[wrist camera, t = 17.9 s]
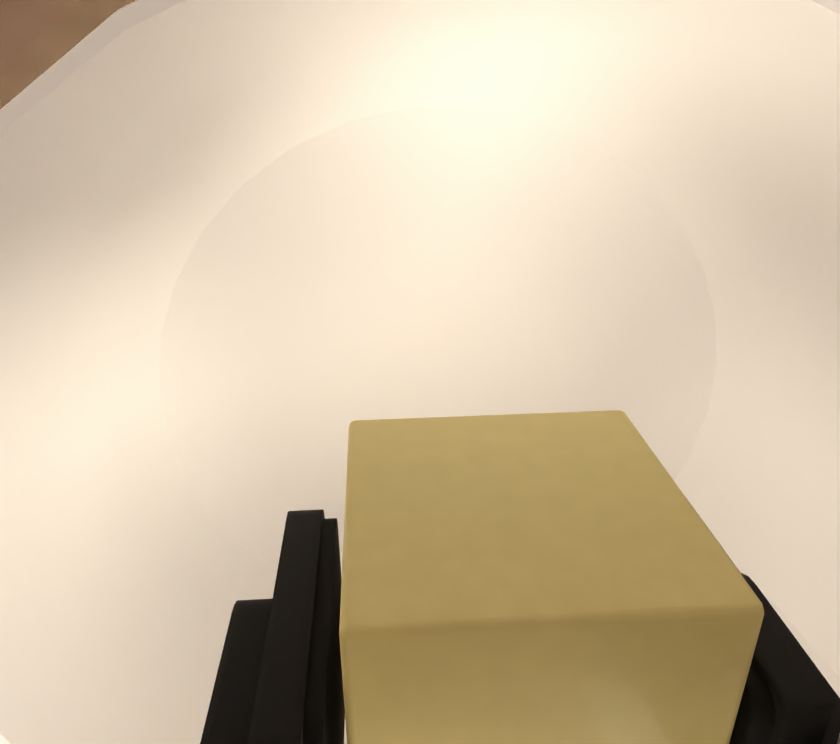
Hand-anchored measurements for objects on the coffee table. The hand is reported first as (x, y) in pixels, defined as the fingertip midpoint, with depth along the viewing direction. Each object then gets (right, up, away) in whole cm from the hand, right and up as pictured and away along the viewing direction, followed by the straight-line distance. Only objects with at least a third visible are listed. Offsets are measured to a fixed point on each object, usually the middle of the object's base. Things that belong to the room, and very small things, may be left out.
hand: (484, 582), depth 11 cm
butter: (0, 0, 0) cm, 0 cm away
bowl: (-1, +3, +7) cm, 8 cm away
